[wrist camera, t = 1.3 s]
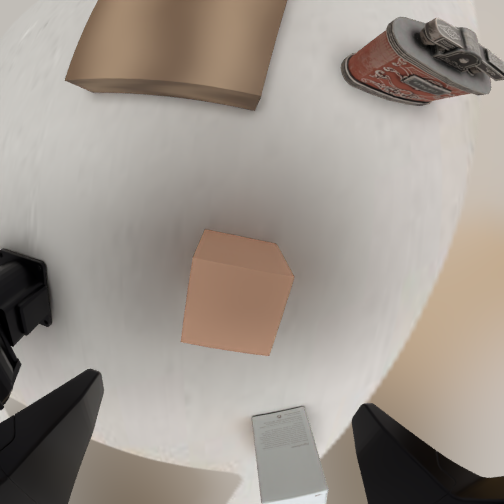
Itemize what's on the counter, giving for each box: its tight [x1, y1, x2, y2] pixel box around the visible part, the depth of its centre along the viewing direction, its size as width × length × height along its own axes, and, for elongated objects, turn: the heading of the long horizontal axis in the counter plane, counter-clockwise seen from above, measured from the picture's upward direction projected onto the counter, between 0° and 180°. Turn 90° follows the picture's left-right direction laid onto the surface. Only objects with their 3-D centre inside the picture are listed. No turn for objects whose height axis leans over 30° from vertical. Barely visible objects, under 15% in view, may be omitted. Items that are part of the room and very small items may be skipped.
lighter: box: [341, 17, 504, 106], centre depth 11 cm, size 8×3×10 cm, turn 88°
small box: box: [252, 407, 328, 504], centre depth 21 cm, size 8×6×10 cm
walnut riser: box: [65, 0, 287, 111], centre depth 12 cm, size 12×12×4 cm
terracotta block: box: [181, 229, 294, 356], centre depth 17 cm, size 5×5×6 cm
